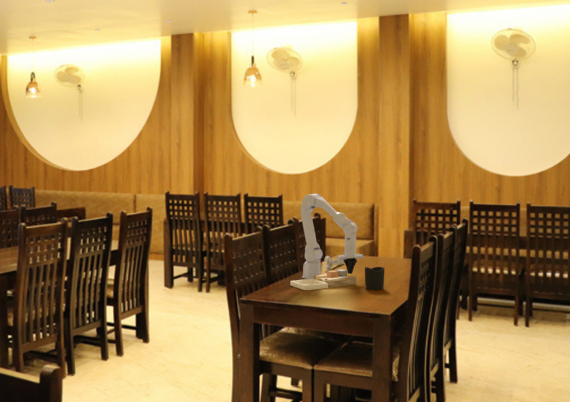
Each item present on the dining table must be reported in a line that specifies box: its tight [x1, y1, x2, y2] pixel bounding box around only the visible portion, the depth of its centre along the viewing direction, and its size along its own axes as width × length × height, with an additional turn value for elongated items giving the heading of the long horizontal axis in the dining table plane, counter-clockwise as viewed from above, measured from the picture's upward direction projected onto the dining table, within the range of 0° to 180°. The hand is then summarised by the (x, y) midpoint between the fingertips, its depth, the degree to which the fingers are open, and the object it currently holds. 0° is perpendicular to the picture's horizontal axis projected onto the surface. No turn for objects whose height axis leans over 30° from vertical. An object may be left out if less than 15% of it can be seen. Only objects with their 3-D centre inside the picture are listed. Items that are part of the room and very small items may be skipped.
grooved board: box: [314, 273, 357, 289], centre depth 319 cm, size 14×16×4 cm
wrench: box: [324, 255, 345, 271], centre depth 369 cm, size 8×2×30 cm
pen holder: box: [364, 266, 385, 291], centre depth 307 cm, size 9×9×10 cm
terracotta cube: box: [326, 269, 338, 278], centre depth 318 cm, size 4×4×4 cm
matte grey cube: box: [335, 268, 348, 277], centre depth 321 cm, size 4×4×4 cm
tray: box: [290, 278, 328, 291], centre depth 312 cm, size 14×13×2 cm
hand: (350, 273), depth 323 cm, fingers closed
